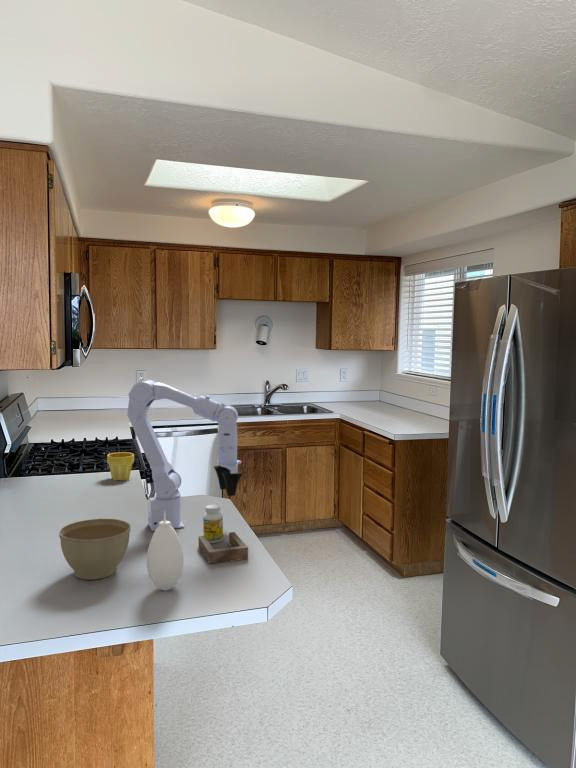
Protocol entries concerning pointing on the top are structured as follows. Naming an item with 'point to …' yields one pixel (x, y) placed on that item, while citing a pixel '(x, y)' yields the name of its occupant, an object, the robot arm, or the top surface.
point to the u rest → (224, 550)
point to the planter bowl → (94, 546)
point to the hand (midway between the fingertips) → (227, 492)
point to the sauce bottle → (165, 556)
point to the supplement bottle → (213, 524)
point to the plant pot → (120, 465)
